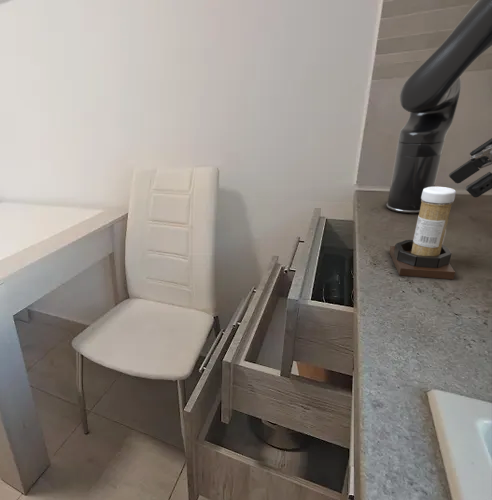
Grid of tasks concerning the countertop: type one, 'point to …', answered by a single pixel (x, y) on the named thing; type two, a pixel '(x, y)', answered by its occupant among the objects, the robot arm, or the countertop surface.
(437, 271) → the base pad
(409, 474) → the countertop surface
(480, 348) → the countertop surface
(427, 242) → the sprinkles bottle
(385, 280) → the countertop surface
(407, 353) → the countertop surface
